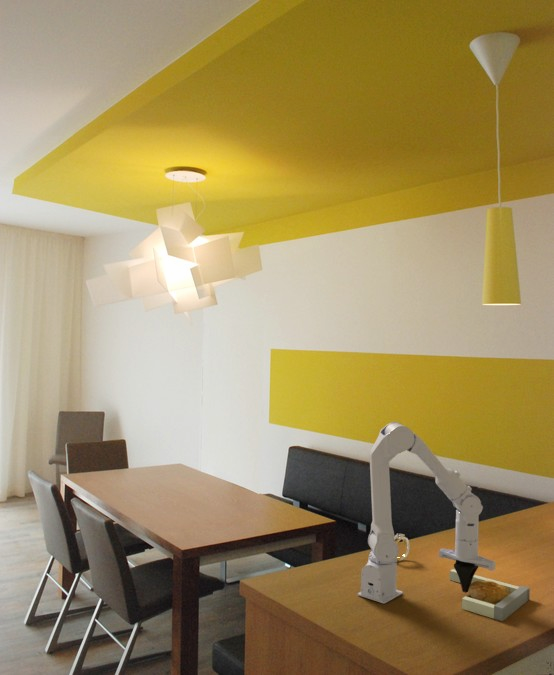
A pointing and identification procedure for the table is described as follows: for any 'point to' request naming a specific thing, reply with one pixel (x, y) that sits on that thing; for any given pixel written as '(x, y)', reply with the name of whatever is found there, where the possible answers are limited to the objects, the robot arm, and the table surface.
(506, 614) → the guide
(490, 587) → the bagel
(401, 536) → the ring
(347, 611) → the table surface
